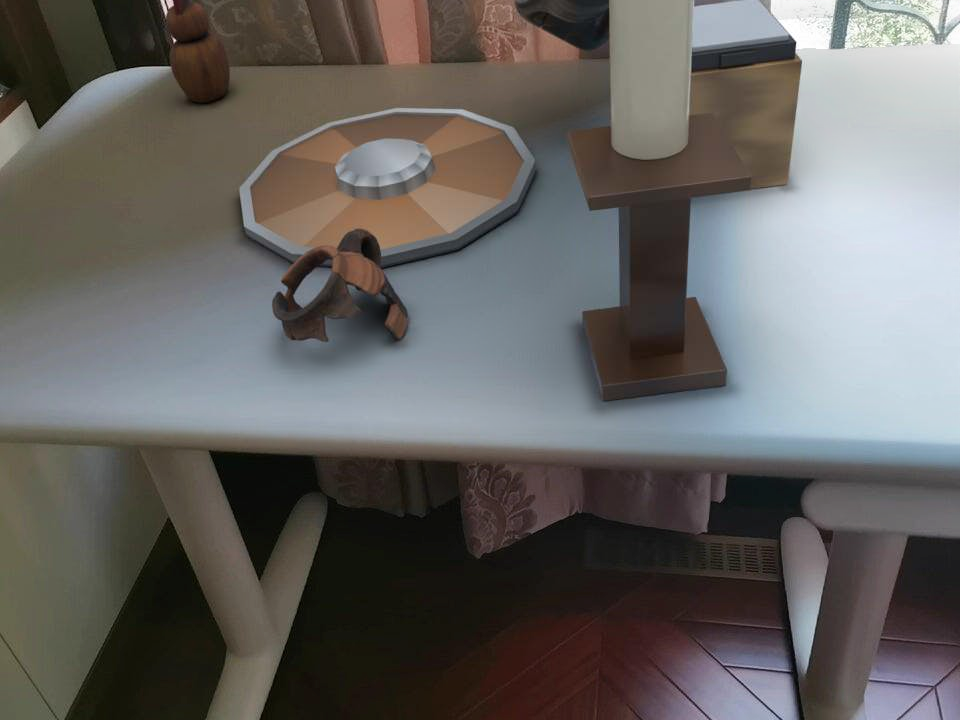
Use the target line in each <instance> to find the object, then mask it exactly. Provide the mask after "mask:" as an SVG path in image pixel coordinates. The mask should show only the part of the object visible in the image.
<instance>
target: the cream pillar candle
mask: <svg viewBox="0 0 960 720" xmlns="http://www.w3.org/2000/svg"><path fill="white" fill-rule="evenodd" d="M694 6H695V0H609V35H610V39H609V92H610V93H609V94H610V95H609V96H610V97H609V98H610V100H609V101H610V126H611V145H612V147H613V149H614V150H615V151H616V152H618V153H619V154H621V155H623V156H626V157H629V158H633V159H641V160H654V159H662V158H666V157H670V156H673V155H675V154H677V153H679V152H681V151H682V150H683V149H684V148H685V147H686V146H687V144H688V139H689V116H690V92H691V69H692V45H693V21H694Z"/></svg>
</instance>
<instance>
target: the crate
mask: <svg viewBox="0 0 960 720" xmlns="http://www.w3.org/2000/svg"><path fill="white" fill-rule="evenodd" d="M802 65H803V60H802V58H801V57H800V56H799V55H798V53H796V52H795V59H788V60H781V61H773V62H765V63H757V64H750V65H742V66H734V67H727V68H719V69H711V70H703V71H696V72H691V92H690V115H697V114H704V113H713V114H714V115H715V117H716V119H717V120H718V122H719V124H720V125H721V127H722V128H723V130H724V132H725V133H726V135H727V137H728V138H729V140H730V142H731V143H732V145H733V147H734V148H735V150H736V152H737V153H738V155H739V156H740V158H741V160H742V161H743V163H744V165H745V166H746V168H747V170H748V171H749V173H750V175H751V176H752V180H751V190H753V189H754V190H755V189H763V188H770V187H779V186H785V185H788V183H789V177H790V176H789V175H790V167H791V159H792V150H793V141H794V133H795V125H796V117H797V108H798V100H799V93H800V92H799V90H800V83H801V75H802V67H803V66H802Z"/></svg>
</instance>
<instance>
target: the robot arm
mask: <svg viewBox="0 0 960 720" xmlns="http://www.w3.org/2000/svg"><path fill="white" fill-rule="evenodd" d="M513 2H514V6H515V10H516V11H517V13H518V14H519V16H520V17H522V19H523V20H525V21H526V22H528V23H529V24H531V25H533V26H534V27H536V28H538V29H541V31H544V32H546V33H548V34H549V35H551V36H553V37H555V38H557V39H559V40H561V41H563V42H565V43H566V44H568V45H570V46H573V47H574V48H576V49H578V50H581V51H583V52H592V51H596V50H597V49H599V48H601V47H602V46H604V45H605V44H606V43H608V41H610V35H609V0H513Z"/></svg>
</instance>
